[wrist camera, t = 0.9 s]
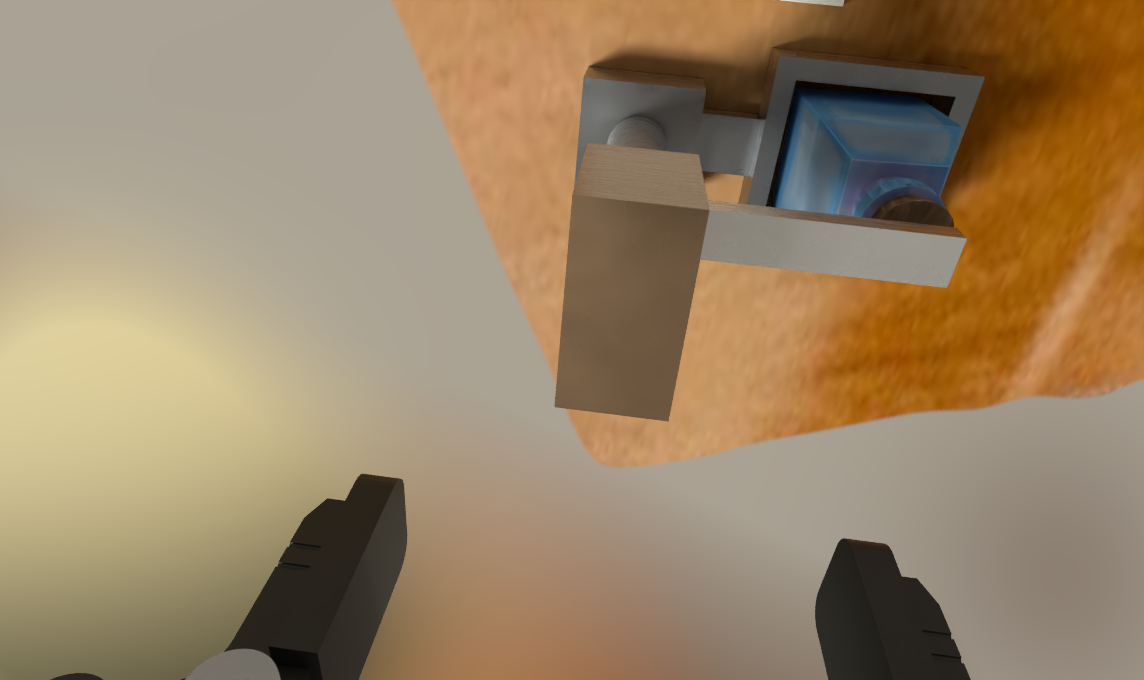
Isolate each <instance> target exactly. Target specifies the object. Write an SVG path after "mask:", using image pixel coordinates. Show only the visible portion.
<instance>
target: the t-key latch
mask: <svg viewBox="0 0 1144 680" xmlns="http://www.w3.org/2000/svg"><path fill="white" fill-rule="evenodd" d="M966 240H967V238H966V237H965V236H964V235H963V234H962V233H961V232H960V231H959V230H958V229H957V228H953V227H944V226H935V225H926V224H917V223H908V222H900V221H891V220H882V219H873V218H864V217H855V216H846V215H837V214H828V213H819V212H810V211H801V210H792V209H783V208H774V207H765V206H757V205H748V204H739V203H730V202H721V201H712V200H708V199H707V194H706V189H705V184H704V179H703V174H702V169H701V163H700V158H699V155H697V154H688V153H678V152H669V151H667V142H666V137H665V134H664V132H663V131H662V129H661V128H660V126H659V125H658V124H656V123H655V122H654V121H652V120H650V119H648V118H645V117H630V118H627V119H625V120H623V121H621V122H620V123H618V124H617V125H616V126H615V127H614V129H613V130H612V131H611V133H610V135H609V138H608V142H607V145H605V144H596V143H588V144H587V147H586V150H585V154H584V157H583V161H582V164H581V168H580V171H579V174H578V178H577V181H576V185H575V188H574V191H573V195H572V207H571V219H570V231H569V243H568V255H567V266H566V278H565V290H564V302H563V314H562V326H561V337H560V349H559V361H558V373H557V385H556V397H555V407H558V408H566V409H574V410H582V411H590V412H598V413H606V414H614V415H622V416H630V417H638V418H646V419H654V420H662V421H669V416H670V410H671V405H672V400H673V395H674V390H675V385H676V380H677V375H678V370H679V364H680V359H681V354H682V349H683V344H684V339H685V334H686V329H687V323H688V318H689V313H690V308H691V303H692V298H693V293H694V288H695V282H696V277H697V272H698V267H699V262H700V259H702V260H710V261H719V262H728V263H736V264H745V265H754V266H762V267H771V268H780V269H788V270H797V271H806V272H814V273H823V274H832V275H840V276H849V277H857V278H866V279H875V280H883V281H892V282H901V283H909V284H918V285H927V286H935V287H944V288H947V286H948V284H949V281H950V279H951V277H952V274H953V272H954V269H955V267H956V264H957V262H958V260H959V257H960V255H961V252H962V250H963V247H964V245H965V243H966Z"/></svg>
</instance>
